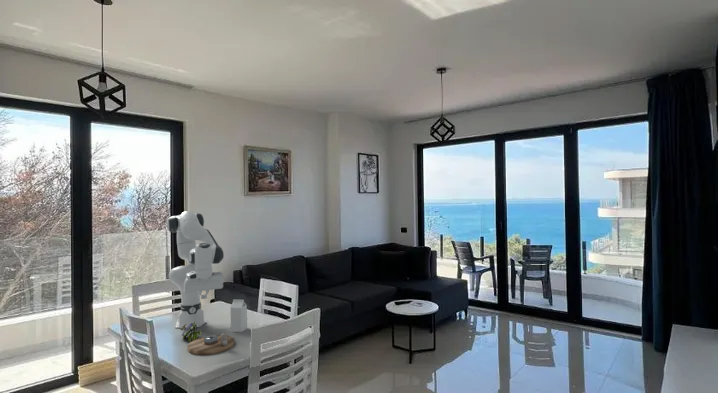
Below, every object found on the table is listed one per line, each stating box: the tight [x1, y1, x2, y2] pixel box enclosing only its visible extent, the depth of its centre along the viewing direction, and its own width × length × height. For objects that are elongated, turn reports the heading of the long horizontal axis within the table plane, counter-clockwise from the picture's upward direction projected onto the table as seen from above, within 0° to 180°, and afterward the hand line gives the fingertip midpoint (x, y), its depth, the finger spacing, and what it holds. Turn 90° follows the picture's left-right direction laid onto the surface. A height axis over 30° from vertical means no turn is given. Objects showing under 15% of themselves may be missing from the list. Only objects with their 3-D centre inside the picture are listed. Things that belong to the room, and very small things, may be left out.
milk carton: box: [229, 299, 248, 333], centre depth 247 cm, size 7×7×19 cm
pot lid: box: [204, 334, 218, 345], centre depth 220 cm, size 7×7×3 cm
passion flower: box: [180, 322, 203, 343], centre depth 233 cm, size 11×11×12 cm
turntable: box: [187, 333, 235, 356], centre depth 220 cm, size 24×24×8 cm
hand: (203, 298), depth 221 cm, fingers closed
